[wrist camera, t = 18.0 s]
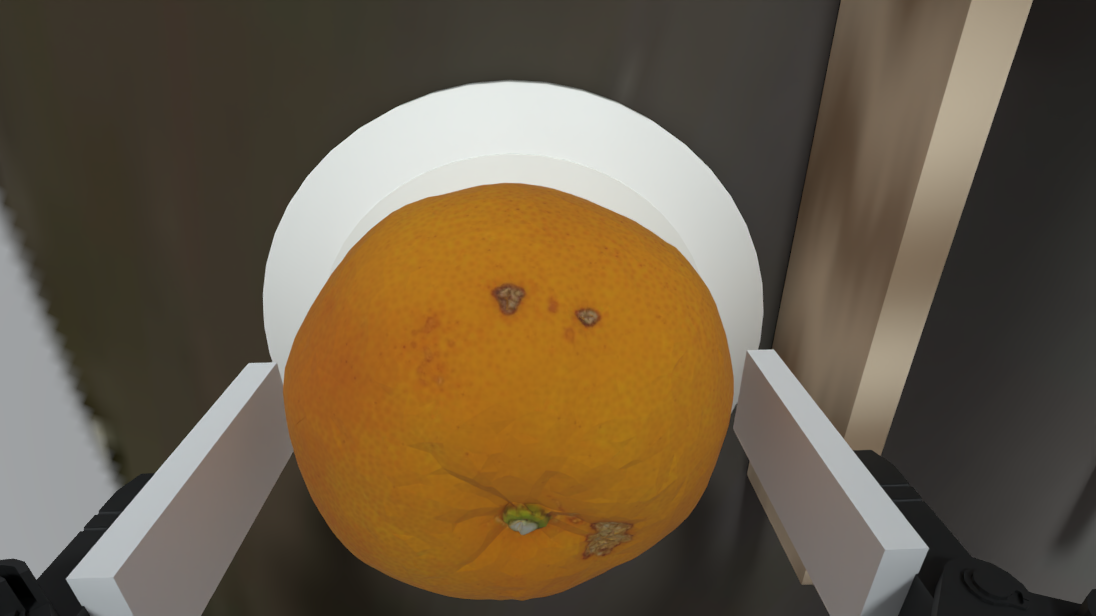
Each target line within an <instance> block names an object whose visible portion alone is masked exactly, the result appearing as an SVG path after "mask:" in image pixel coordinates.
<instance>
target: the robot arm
mask: <svg viewBox="0 0 1096 616" xmlns="http://www.w3.org/2000/svg"><path fill="white" fill-rule="evenodd" d="M733 430H734V432H735V434H736V436H737V438H738V440H739V442H740V443H741V445H742V447H743V449H744V451H745V453H746V455H747V457H748V459H749V461H750V463H751V465H752V467H753V468H754V470H755V472H756V474H757V476H758V478H759V480H760V482H761V484H762V486H763V488H764V490H765V492H766V493H767V495H768V497H769V499H770V501H771V503H772V505H773V507H774V509H775V511H776V513H777V515H778V517H779V518H780V520H781V522H782V524H783V526H784V528H785V530H786V532H787V534H788V536H789V538H790V540H791V542H792V544H793V545H794V547H795V549H796V551H797V553H798V555H799V557H800V559H801V561H802V563H803V565H804V567H805V569H806V570H807V572H808V574H809V576H810V578H811V580H812V582H813V584H814V586H815V588H816V590H817V592H818V594H819V595H820V597H821V599H822V601H823V603H824V605H825V607H826V609H827V611H828V613H829V615H830V616H1096V589H1093V590H1092V591H1091V592H1090V593H1089V594H1088V596H1087V597H1086V599H1085V600H1084V602H1083V603H1082V604H1077V603H1073V602H1069V601H1064V600H1060V599H1056V598H1051V597H1047V596H1043V595H1038V594H1034V593H1031V592H1028V591H1027V589H1026V588H1025V587H1024V585H1023V584H1022V583H1020V582H1019V581H1018V580H1017V579H1015V578H1014V577H1013V576H1012V575H1010V574H1009V573H1008V572H1006V571H1004V570H1002V569H1001V568H999V567H997V566H995V565H993V564H991V563H989V562H985V561H982V560H979V559H976V558H972V557H971V556H970V555H969V553H968V552H967V551H966V550H965V549H964V547H963V546H962V545H961V544H960V543H959V542H958V540H957V539H956V538H955V537H954V536H953V535H952V533H951V532H950V531H949V530H948V529H947V527H946V526H945V525H944V524H943V523H942V522H941V520H940V519H939V518H938V517H937V516H936V514H935V513H934V512H933V511H932V510H931V509H930V507H929V506H928V505H927V504H926V503H925V502H922V500H921V497H920V496H919V494H918V493H917V492H916V491H915V490H914V489H913V487H910V486H909V483H908V482H907V480H906V479H905V478H904V477H903V476H902V474H901V473H900V472H899V471H898V470H897V469H896V467H895V466H894V465H893V464H891V463H890V462H888V461H887V460H885V459H884V458H883V457H881V456H880V455H878V454H877V453H875V452H874V451H873V450H852V449H851V448H850V446H849V445H848V444H847V442H846V441H845V440H844V439H843V437H842V436H841V435H840V433H839V432H838V431H837V430H836V428H835V427H834V426H833V425H832V423H831V422H830V421H829V419H828V418H827V417H826V416H825V414H824V413H823V412H822V410H821V409H820V408H819V407H818V405H817V404H816V403H815V401H814V400H813V399H812V398H811V396H810V395H809V394H808V393H807V391H806V390H805V389H804V387H803V386H802V385H801V384H800V382H799V381H798V380H797V378H796V377H795V376H794V375H793V373H792V372H791V371H790V369H789V368H788V367H787V366H786V364H785V363H784V362H783V360H782V359H781V358H780V357H779V355H778V354H777V353H776V352H775V350H774V349H773V350H747V352H746V357H745V363H744V369H743V374H742V380H741V386H740V392H739V397H738V403H737V409H736V414H735V420H734V426H733ZM293 451H294V450H293V447H292V443H291V440H290V436H289V431H288V426H287V421H286V415H285V408H284V398H283V383H282V379H281V375H280V372H279V368H278V364H277V363H248V365H247V366H246V367H245V368H244V369H243V370H242V372H241V373H240V374H239V375H238V376H237V378H236V379H235V380H234V381H233V382H232V383H231V385H230V386H229V387H228V388H227V389H226V390H225V392H224V393H223V394H222V395H221V396H220V398H219V399H218V400H217V401H216V402H215V403H214V405H213V406H212V407H211V408H210V409H209V411H208V412H207V413H206V414H205V415H204V416H203V418H202V419H201V420H200V421H199V422H198V424H197V425H196V426H195V427H194V428H193V429H192V431H191V432H190V433H189V434H188V435H187V436H186V438H185V439H184V440H183V441H182V442H181V444H180V445H179V446H178V447H177V448H176V449H175V451H174V452H173V453H172V454H171V455H170V457H169V458H168V459H167V460H166V461H165V462H164V464H163V465H162V466H161V467H160V468H159V470H158V471H157V472H156V473H153V474H140V475H139V476H137V477H136V478H135V479H133V480H132V481H130V482H129V483H128V484H126V485H125V486H123V487H122V488H120V489H119V490H118V491H116V492H115V493H114V495H113V496H112V497H111V498H110V499H109V500H108V501H107V502H106V503H105V505H104V506H103V507H102V508H101V509H100V510H99V514H98V515H95V516H94V517H93V518H92V519H91V520H90V521H89V522H88V523H87V525H86V526H85V527H84V531H83V532H79V533H78V535H77V536H76V537H75V538H74V539H73V540H72V541H71V542H70V544H69V545H68V546H67V547H66V548H65V549H64V550H63V551H62V552H61V554H60V555H59V556H58V557H57V558H56V559H55V560H54V561H53V562H52V564H51V565H50V566H49V567H48V568H47V569H46V570H45V571H44V572H43V573H42V575H41V576H40V577H39V578H38V579H37V580H36V579H35V577H34V576H33V574H32V572H31V571H30V569H29V568H28V566H27V565H26V563H25V562H23V561H20V560H17V559H6V560H0V616H201V614H202V613H203V611H204V609H205V607H206V606H207V604H208V602H209V600H210V598H211V597H212V595H213V593H214V591H215V590H216V588H217V586H218V584H219V582H220V581H221V579H222V577H223V575H224V574H225V572H226V570H227V568H228V566H229V565H230V563H231V561H232V559H233V558H234V556H235V554H236V552H237V550H238V549H239V547H240V545H241V543H242V542H243V540H244V538H245V536H246V534H247V533H248V531H249V529H250V527H251V526H252V524H253V522H254V520H255V518H256V517H257V515H258V513H259V511H260V510H261V508H262V506H263V504H264V502H265V501H266V499H267V497H268V495H269V493H270V492H271V490H272V488H273V486H274V485H275V483H276V481H277V479H278V477H279V476H280V474H281V472H282V470H283V469H284V467H285V465H286V463H287V461H288V460H289V458H290V456H291V454H292V453H293Z"/></svg>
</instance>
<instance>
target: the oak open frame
mask: <svg viewBox="0 0 1096 616" xmlns="http://www.w3.org/2000/svg"><path fill="white" fill-rule="evenodd" d="M1032 2H1033V0H841V3H840V8H839V13H838V18H837V23H836V28H835V33H834V38H833V43H832V48H831V53H830V58H829V63H828V68H827V73H826V78H825V83H824V88H823V93H822V98H821V103H820V108H819V113H818V119H817V124H816V129H815V134H814V139H813V144H812V149H811V154H810V159H809V164H808V169H807V174H806V179H805V184H804V189H803V194H802V199H801V204H800V209H799V214H798V219H797V224H796V229H795V234H794V239H793V245H792V250H791V255H790V260H789V265H788V270H787V275H786V280H785V285H784V290H783V295H782V300H781V305H780V310H779V315H778V320H777V325H776V330H775V335H774V340H773V345H772V350H773V349H774V350H775V352H776V353H777V354H778V355H779V357H780V358H781V359H782V360H783V362H784V363H785V364H786V366H787V367H788V368H789V369H790V371H791V372H792V373H793V375H794V376H795V377H796V378H797V380H798V381H799V382H800V384H801V385H802V386H803V387H804V389H805V390H806V391H807V393H808V394H809V395H810V396H811V398H812V399H813V400H814V401H815V403H816V404H817V405H818V407H819V408H820V409H821V410H822V412H823V413H824V414H825V416H826V417H827V418H828V419H829V421H830V422H831V423H832V425H833V426H834V427H835V428H836V430H837V431H838V432H839V433H840V435H841V436H842V437H843V439H844V440H845V441H846V442H847V444H848V445H849V446H850V448H851V449H852V450H873V451H874V452H875V453H877V454H878V455H880V456H881V453H882V450H883V447H884V444H885V441H886V438H887V435H888V432H889V429H890V426H891V423H892V420H893V417H894V414H895V411H896V408H897V405H898V402H899V399H900V396H901V393H902V390H903V387H904V384H905V381H906V378H907V375H908V372H909V369H910V366H911V363H912V360H913V357H914V354H915V351H916V348H917V345H918V342H919V340H920V337H921V334H922V331H923V328H924V325H925V322H926V319H927V316H928V313H929V310H930V307H931V304H932V301H933V298H934V295H935V292H936V289H937V286H938V283H939V280H940V277H941V274H942V271H943V268H944V265H945V262H946V259H947V256H948V253H949V250H950V247H951V244H952V241H953V238H954V235H955V232H956V229H957V226H958V223H959V220H960V217H961V214H962V211H963V208H964V205H965V202H966V199H967V196H968V193H969V190H970V187H971V184H972V181H973V178H974V175H975V172H976V169H977V166H978V163H979V160H980V157H981V154H982V151H983V148H984V145H985V142H986V139H987V136H988V133H989V130H990V127H991V124H992V121H993V118H994V115H995V112H996V109H997V106H998V103H999V100H1000V97H1001V94H1002V91H1003V88H1004V85H1005V82H1006V79H1007V76H1008V73H1009V70H1010V67H1011V64H1012V61H1013V58H1014V55H1015V52H1016V49H1017V46H1018V43H1019V41H1020V38H1021V35H1022V32H1023V29H1024V26H1025V23H1026V20H1027V17H1028V14H1029V11H1030V8H1031V5H1032ZM747 476H748V478H749V480H750V482H751V484H752V486H753V488H754V490H755V492H756V494H757V496H758V498H759V500H760V502H761V504H762V506H763V508H764V510H765V512H766V514H767V516H768V518H769V520H770V522H771V524H772V526H773V528H774V530H775V532H776V534H777V536H778V538H779V540H780V542H781V545H782V547H783V549H784V551H785V553H786V555H787V557H788V559H789V561H790V563H791V565H792V567H793V569H794V571H795V573H796V575H797V577H798V579H799V581H800V583H801V585H810V584H813V582H812V580H811V578H810V576H809V574H808V572H807V570H806V569H805V567H804V565H803V563H802V561H801V559H800V557H799V555H798V553H797V551H796V549H795V547H794V545H793V544H792V542H791V540H790V538H789V536H788V534H787V532H786V530H785V528H784V526H783V524H782V522H781V520H780V518H779V517H778V515H777V513H776V511H775V509H774V507H773V505H772V503H771V501H770V499H769V497H768V495H767V493H766V492H765V490H764V488H763V486H762V484H761V482H760V480H759V478H758V476H757V474H756V472H755V470H754V468H753V467H752V465H751V463H750V461H749V466H748V471H747Z"/></svg>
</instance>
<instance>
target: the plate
mask: <svg viewBox="0 0 1096 616" xmlns="http://www.w3.org/2000/svg"><path fill="white" fill-rule="evenodd" d="M498 183H523V184H530V185H538V186H544V187H549V188H553V189H556V190H560V191H563V192H566V193H569V194H572V195H575V196H578V197H581V198H584V199H586V200H589V201H591V202H593V203H595V204H598V205H600V206H602V207H605V208H607V209H609V210H611V211H614V212H616V213H618V214H621V215H623V216H625V217H627V218H629V219H632V220H634V221H636V222H637V223H639V224H640V225H642V226H643V227H645V228H647V229H649V230H650V231H652V232H653V233H654V234H656V235H657V236H659V237H660V238H661V239H663V240H664V241H666V242H667V243H669V244H671V245H673V246H674V247H676V248H677V249H678V250H679V251H680V252H681V253H682V255H683V256H684V257H685V258H686V259H687V260H688V261H689V262H690V264H691V265H692V266H693V268H694V269H695V270H696V272H697V273H698V274H699V275H700V277H701V278H702V280H703V281H704V283H705V284H706V286H707V287H708V289H709V291H710V293H711V295H712V297H713V299H714V301H715V303H716V306H717V309H718V312H719V315H720V318H721V321H722V324H723V327H724V330H725V333H726V337H727V341H728V346H729V352H730V357H731V362H732V369H733V376H734V396H733V404H732V409H731V412H732V411H733V409H734V407H735V405H736V404H737V402H738V397H739V392H740V386H741V380H742V374H743V369H744V363H745V357H746V352H747V350H758V347H759V344H760V338H761V329H762V320H763V289H762V279H761V274H760V269H759V264H758V258H757V254H756V251H755V248H754V245H753V242H752V239H751V237H750V234H749V231H748V228H747V225H746V223H745V221H744V220H743V218H742V216H741V214H740V212H739V210H738V208H737V207H736V205H735V203H734V201H733V199H732V197H731V196H730V194H729V193H728V192H727V190H726V189H725V188H724V186H723V185H722V184H721V182H720V181H719V180H718V179H717V177H716V176H715V175H714V173H713V172H712V171H711V169H710V168H709V167H708V166H707V165H706V164H705V163H704V162H703V161H702V160H700V159H699V158H698V157H697V156H696V155H695V154H694V153H693V152H692V151H691V150H690V149H689V148H688V147H687V146H686V145H685V144H684V143H682V142H681V141H679V140H678V139H677V138H675V137H674V136H673V135H671V134H670V133H668V132H667V131H666V130H664V129H663V128H662V127H660V126H659V125H657V124H656V123H655V122H653V121H652V120H650V119H649V118H647V117H645V116H644V115H642V114H640V113H638V112H636V111H634V110H632V109H630V108H628V107H626V106H624V105H623V104H621V103H619V102H617V101H614V100H611V99H609V98H606V97H603V96H600V95H597V94H594V93H592V92H589V91H586V90H583V89H579V88H574V87H569V86H564V85H559V84H554V83H549V82H541V81H523V80H499V81H487V82H475V83H468V84H464V85H460V86H455V87H451V88H447V89H442V90H438V91H435V92H432V93H429V94H427V95H424V96H422V97H419V98H417V99H414V100H411V101H409V102H406V103H404V104H401V105H400V106H398V107H396V108H394V109H392V110H391V111H389V112H387V113H385V114H384V115H382V116H380V117H378V118H377V119H375V120H373V121H371V122H370V123H368V124H366V125H364V126H363V127H361V128H359V129H358V130H357V131H355V132H354V133H353V134H352V135H350V136H349V137H348V138H347V139H345V140H344V141H343V142H342V143H340V144H339V145H338V146H336V147H335V148H334V149H333V150H331V151H330V152H329V154H328V155H327V156H326V157H325V158H324V159H323V160H322V161H321V162H320V163H319V164H318V165H317V166H316V168H315V169H314V170H313V171H312V172H311V173H310V174H309V175H308V176H307V178H306V179H305V181H304V182H303V184H302V185H301V187H300V188H299V190H298V191H297V192H296V194H295V195H294V197H293V198H292V200H291V201H290V203H289V204H288V206H287V209H286V211H285V213H284V215H283V217H282V220H281V222H280V224H279V226H278V228H277V230H276V233H275V235H274V239H273V242H272V246H271V250H270V253H269V257H268V260H267V264H266V272H265V281H264V290H263V309H264V326H265V332H266V337H267V342H268V347H269V352H270V355H271V358H272V361H273V363H277V364H278V368H279V372H280V375H281V379H282V383H284V371H285V366H286V363H287V360H288V357H289V354H290V351H291V347H292V344H293V342H294V339H295V336H296V334H297V332H298V330H299V328H300V326H301V325H302V323H303V321H304V319H305V317H306V315H307V313H308V311H309V309H310V307H311V306H312V304H313V303H314V301H315V299H316V298H317V296H318V295H319V293H320V291H321V290H322V288H323V287H324V285H325V283H326V282H327V280H328V279H329V277H330V276H331V274H332V273H333V271H334V270H335V269H336V268H337V266H338V265H339V264H340V263H341V261H342V260H343V259H344V257H345V256H346V254H347V253H348V251H349V250H350V249H351V248H352V247H353V246H354V245H355V244H356V243H357V242H358V241H359V240H360V239H361V238H362V237H363V236H364V235H365V234H366V233H367V232H368V231H369V230H370V229H371V228H373V227H374V226H375V225H376V224H378V223H379V222H380V221H381V220H383V219H384V218H385V217H387V216H388V215H389V214H391V213H392V212H394V211H396V210H398V209H400V208H401V207H403V206H405V205H407V204H410V203H413V202H416V201H418V200H421V199H424V198H427V197H431V196H439V195H443V194H447V193H451V192H455V191H458V190H462V189H466V188H471V187H475V186H480V185H487V184H498Z"/></svg>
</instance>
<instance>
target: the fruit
mask: <svg viewBox="0 0 1096 616" xmlns="http://www.w3.org/2000/svg"><path fill="white" fill-rule="evenodd" d="M733 396H734V376H733V369H732V362H731V357H730V352H729V346H728V341H727V337H726V333H725V330H724V327H723V324H722V321H721V318H720V315H719V312H718V309H717V306H716V303H715V301H714V299H713V297H712V295H711V293H710V291H709V289H708V287H707V286H706V284H705V283H704V281H703V280H702V278H701V277H700V275H699V274H698V273H697V272H696V270H695V269H694V268H693V266H692V265H691V264H690V262H689V261H688V260H687V259H686V258H685V257H684V256H683V255H682V253H681V252H680V251H679V250H678V249H677V248H676V247H674V246H673V245H671V244H669V243H667V242H666V241H664V240H663V239H661V238H660V237H659V236H657V235H656V234H654V233H653V232H652V231H650V230H649V229H647V228H645V227H643V226H642V225H640V224H639V223H637V222H636V221H634V220H632V219H629V218H627V217H625V216H623V215H621V214H618V213H616V212H614V211H611V210H609V209H607V208H605V207H602V206H600V205H598V204H595V203H593V202H591V201H589V200H586V199H584V198H581V197H578V196H575V195H572V194H569V193H566V192H563V191H560V190H556V189H553V188H549V187H544V186H538V185H530V184H523V183H498V184H487V185H480V186H475V187H471V188H466V189H462V190H458V191H455V192H451V193H447V194H443V195H439V196H431V197H427V198H424V199H421V200H418V201H416V202H413V203H410V204H407V205H405V206H403V207H401V208H400V209H398V210H396V211H394V212H392V213H391V214H389V215H388V216H387V217H385V218H384V219H383V220H381V221H380V222H379V223H378V224H376V225H375V226H374V227H373V228H371V229H370V230H369V231H368V232H367V233H366V234H365V235H364V236H363V237H362V238H361V239H360V240H359V241H358V242H357V243H356V244H355V245H354V246H353V247H352V248H351V249H350V250H349V251H348V253H347V254H346V256H345V257H344V259H343V260H342V261H341V263H340V264H339V265H338V266H337V268H336V269H335V270H334V271H333V273H332V274H331V276H330V277H329V279H328V280H327V282H326V283H325V285H324V287H323V288H322V290H321V291H320V293H319V295H318V296H317V298H316V299H315V301H314V303H313V304H312V306H311V307H310V309H309V311H308V313H307V315H306V317H305V319H304V321H303V323H302V325H301V326H300V328H299V330H298V332H297V334H296V336H295V339H294V342H293V344H292V347H291V351H290V354H289V357H288V360H287V363H286V366H285V371H284V383H283V398H284V408H285V415H286V421H287V426H288V431H289V436H290V440H291V443H292V447H293V450H294V453H295V456H296V460H297V463H298V466H299V469H300V471H301V474H302V476H303V479H304V481H305V484H306V486H307V488H308V491H309V493H310V495H311V498H312V499H313V501H314V503H315V505H316V506H317V508H318V510H319V512H320V513H321V515H322V516H323V518H324V519H325V521H326V522H327V524H328V526H329V527H330V529H331V530H332V532H333V533H334V534H335V535H336V537H337V538H338V539H339V540H340V541H341V542H342V544H343V545H344V546H345V547H346V548H347V549H348V550H349V551H350V552H351V553H352V554H353V555H354V556H356V557H357V558H359V559H360V560H361V561H363V562H364V563H366V564H368V565H369V566H371V567H373V568H375V569H377V570H379V571H381V572H382V573H384V574H386V575H388V576H390V577H392V578H394V579H397V580H399V581H402V582H404V583H407V584H409V585H412V586H415V587H418V588H421V589H424V590H427V591H431V592H434V593H437V594H441V595H445V596H449V597H456V598H463V599H477V600H479V599H494V600H507V599H515V600H521V601H522V600H527V599H532V598H539V597H546V596H550V595H553V594H557V593H560V592H563V591H566V590H568V589H570V588H572V587H574V586H577V585H579V584H581V583H583V582H585V581H587V580H589V579H592V578H594V577H596V576H598V575H600V574H603V573H604V572H606V571H608V570H610V569H611V568H613V567H615V566H617V565H620V564H622V563H625V562H627V561H630V560H632V559H634V558H635V557H637V556H639V555H640V554H642V553H643V552H645V551H646V550H648V549H649V548H651V547H652V546H653V545H655V544H656V543H657V542H659V541H660V540H661V539H663V538H664V537H665V536H667V535H668V534H669V533H670V532H672V531H673V530H674V529H676V528H677V527H678V526H679V525H680V524H681V523H682V522H683V521H684V520H685V519H686V518H687V517H688V516H689V515H690V513H691V512H692V511H693V509H694V508H695V507H696V505H697V503H698V501H699V500H700V498H701V496H702V495H703V493H704V491H705V489H706V487H707V485H708V482H709V479H710V477H711V474H712V472H713V470H714V467H715V465H716V462H717V459H718V456H719V453H720V450H721V447H722V444H723V441H724V438H725V436H726V433H727V429H728V426H729V421H730V415H731V409H732V404H733Z"/></svg>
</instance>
